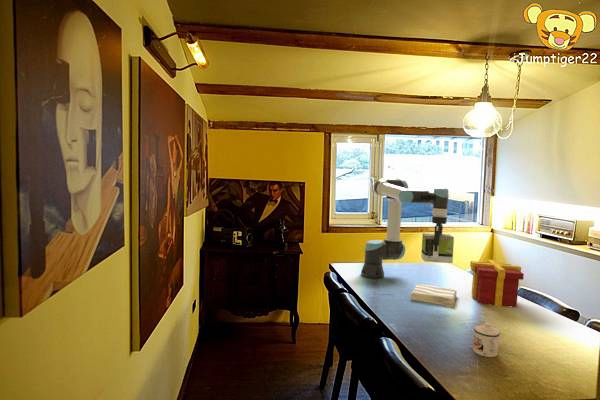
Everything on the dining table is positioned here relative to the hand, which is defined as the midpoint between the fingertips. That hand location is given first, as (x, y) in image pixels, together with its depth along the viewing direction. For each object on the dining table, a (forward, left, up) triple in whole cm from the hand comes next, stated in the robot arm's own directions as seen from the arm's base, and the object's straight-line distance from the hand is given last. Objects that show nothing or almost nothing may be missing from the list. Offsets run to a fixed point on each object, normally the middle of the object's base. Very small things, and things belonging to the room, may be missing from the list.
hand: (436, 255), depth 223 cm
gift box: (-15, +30, -24) cm, 42 cm away
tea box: (0, 0, -3) cm, 3 cm away
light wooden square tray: (0, 0, -24) cm, 24 cm away
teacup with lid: (+63, +27, -24) cm, 73 cm away
